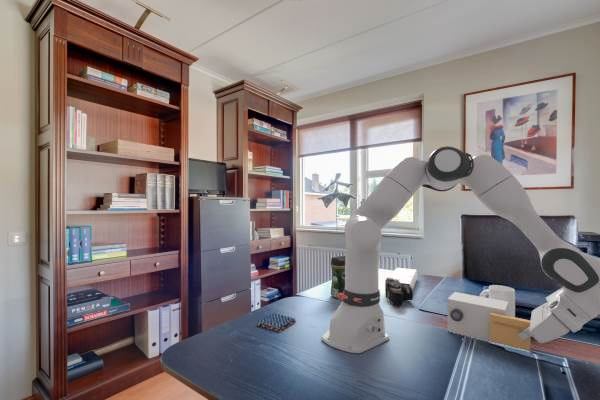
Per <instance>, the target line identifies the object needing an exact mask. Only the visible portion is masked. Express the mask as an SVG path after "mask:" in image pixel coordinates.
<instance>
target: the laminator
mask: <svg viewBox="0 0 600 400" xmlns="http://www.w3.org/2000/svg"><path fill="white" fill-rule="evenodd" d="M389 277H390V278H393V279H397V280H398V281H399V282H400V283H401V285H408V286H411V288H412V291H414V288H415V285H416V283H417V280H418V269H415V268H407V267H396V268H395V269H394V270H393V272H392V273H391V274H390V275H389Z"/></svg>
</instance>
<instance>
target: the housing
mask: <svg viewBox="0 0 600 400" xmlns="http://www.w3.org/2000/svg"><path fill="white" fill-rule="evenodd" d="M446 300H447V305H446V306H447V307H446V308H447V313H446V314H447V315H446V316H447V317H446V318H447V325H446V327H447V330H446V331H447V332H448V331H449V332H448V333H451V332H453V333H452V334H455V333H457V334H456V335H459V334H461V335H460V336H463V335H465V336H464V337H466V336H470V337H475V338H480V339H483V340H489V341H490V313H491V312H492V313H497V314H502V315H506V316H509V309H508V302H507V301H502V300H496V299H491V298H489V297H480V295H473V294H468V293H462V292H458V291H454V292H453V293H452V294H451V295H449V297H448V298H447V299H446ZM470 337H469V338H470Z"/></svg>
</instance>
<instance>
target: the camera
mask: <svg viewBox="0 0 600 400" xmlns="http://www.w3.org/2000/svg"><path fill="white" fill-rule="evenodd" d="M384 282H385V284H384V289H385V290H384V291H385V297H386V299H387V300H388V301H389V302H390V303H391V305H392V307H394V308H401V307H402V306H403V304H404V302H407V301H413V298H414V292H413V291H414V290H413V291H412V288H411V286H408V285H401V283H400V282H399V281H398V280H397V279H393V278H390V276H388V277H386V279H385V281H384Z"/></svg>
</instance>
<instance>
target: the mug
mask: <svg viewBox="0 0 600 400" xmlns="http://www.w3.org/2000/svg"><path fill="white" fill-rule="evenodd" d="M479 296H480V297H485V298H487V296H488V298H491V299H496V300H502V301H507V302H508V309H509V316H511V317H516V290H515V288H513V287H510V286H507V285H506V286H505V285H499V284H491V285H489V286H488V288H487V289H485V290H483V291H481V292H480V294H479Z"/></svg>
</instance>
